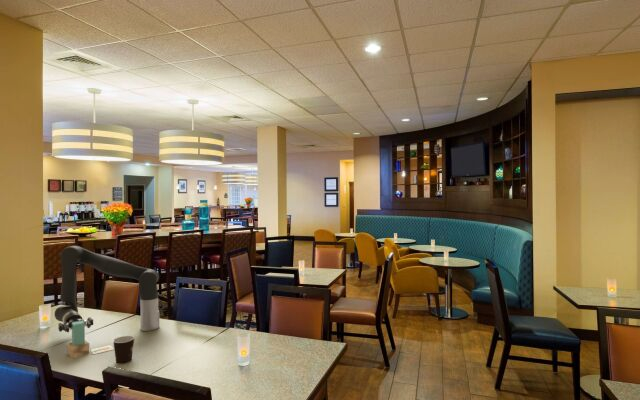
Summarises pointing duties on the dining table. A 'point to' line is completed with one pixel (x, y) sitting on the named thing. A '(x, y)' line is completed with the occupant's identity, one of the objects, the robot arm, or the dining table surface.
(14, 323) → the dining table surface
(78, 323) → the tall block
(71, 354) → the base brick
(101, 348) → the page
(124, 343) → the coffee mug
